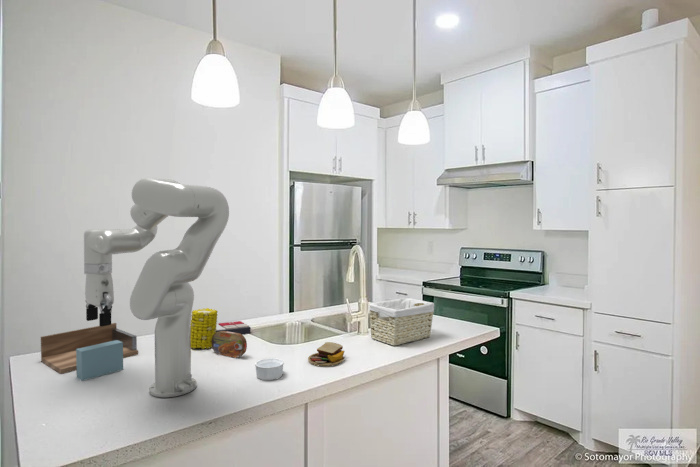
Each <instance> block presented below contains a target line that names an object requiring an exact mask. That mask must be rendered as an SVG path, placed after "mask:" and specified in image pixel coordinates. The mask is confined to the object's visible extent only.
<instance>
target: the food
mask: <svg viewBox="0 0 700 467" xmlns="http://www.w3.org/2000/svg"><path fill="white" fill-rule="evenodd" d="M216 324H218V310H217V309H215V308H214V309H213V308H209V307H206V308H198V309H195V310H193V309H192V312H191V334H190V337H191V349H202V350H204V349H211V348H212V344H211V340H212V337H213V335H214V334H215V333H216Z"/></svg>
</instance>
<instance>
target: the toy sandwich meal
mask: <svg viewBox="0 0 700 467" xmlns="http://www.w3.org/2000/svg"><path fill="white" fill-rule="evenodd" d="M343 349H344V347H343V345H342V344H339V343H337V342H331V341H326V342H324V344H322V345H321V346H319V347H318V348H316V351H317V352H315V353H312V354H310V355H309V356H308V357H307V360H308V361H309V363H310V364H312V365H314V364H315V365H314V366H317V365H319V366H318V367H333V366H332V365H334V366H338V365H340V364H341V363H342V362H343V361H344V360H345V356H344V355H345V350H343ZM339 363H340V364H339ZM337 364H338V365H337Z"/></svg>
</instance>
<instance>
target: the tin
mask: <svg viewBox="0 0 700 467" xmlns="http://www.w3.org/2000/svg"><path fill="white" fill-rule="evenodd" d="M247 342H248V341H247V338H246V337H245V336H244V335H242V334H240V333H234V332H228V331H220V332H216V333H215V334H214V335H213V337H212V340H211V344H212V347H211V348H212V350H213V352H214V353H215V354H217V355H219V356H223V357H228V358H233V359H236V358H239V357H241V356H243V355H244V354H246V351H247V349H248V348H247V347H248V343H247Z"/></svg>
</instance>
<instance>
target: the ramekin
mask: <svg viewBox="0 0 700 467" xmlns="http://www.w3.org/2000/svg"><path fill="white" fill-rule="evenodd" d="M284 365H285V361H284V360H283V359H281V358H276V357H275V358H274V357H267V358H266V357H265V358H262V359H258V360H257V361H256V362H255V363H254V366H255V372H256V377H257V378H258V379H259V380H261V379H262V381H273V379H275V380H277V378H278V379H280V378H281V377H282V376H283V372H284V371H283V370H284ZM279 377H280V378H279Z"/></svg>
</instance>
